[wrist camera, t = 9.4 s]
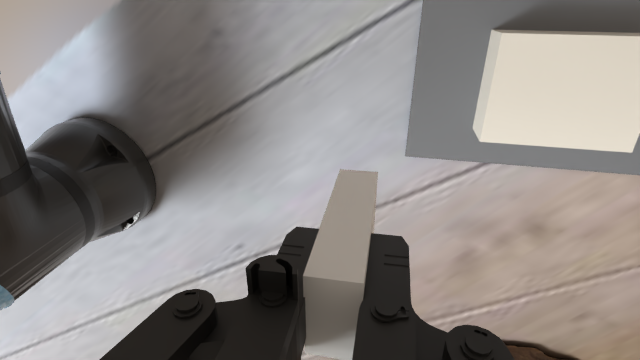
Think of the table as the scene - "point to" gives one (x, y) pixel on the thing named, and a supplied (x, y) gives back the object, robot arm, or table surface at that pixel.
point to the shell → (528, 353)
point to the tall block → (561, 90)
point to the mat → (467, 70)
